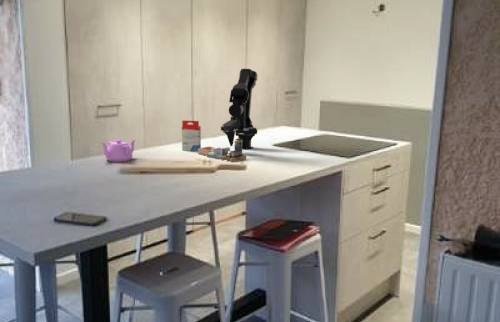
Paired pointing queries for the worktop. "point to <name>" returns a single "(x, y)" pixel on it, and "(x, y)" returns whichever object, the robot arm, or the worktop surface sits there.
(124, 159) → the teapot
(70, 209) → the worktop surface
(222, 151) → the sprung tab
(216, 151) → the grey flat block
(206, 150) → the salmon pink square tray
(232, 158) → the trough
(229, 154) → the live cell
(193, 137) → the ink box
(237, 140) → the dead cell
